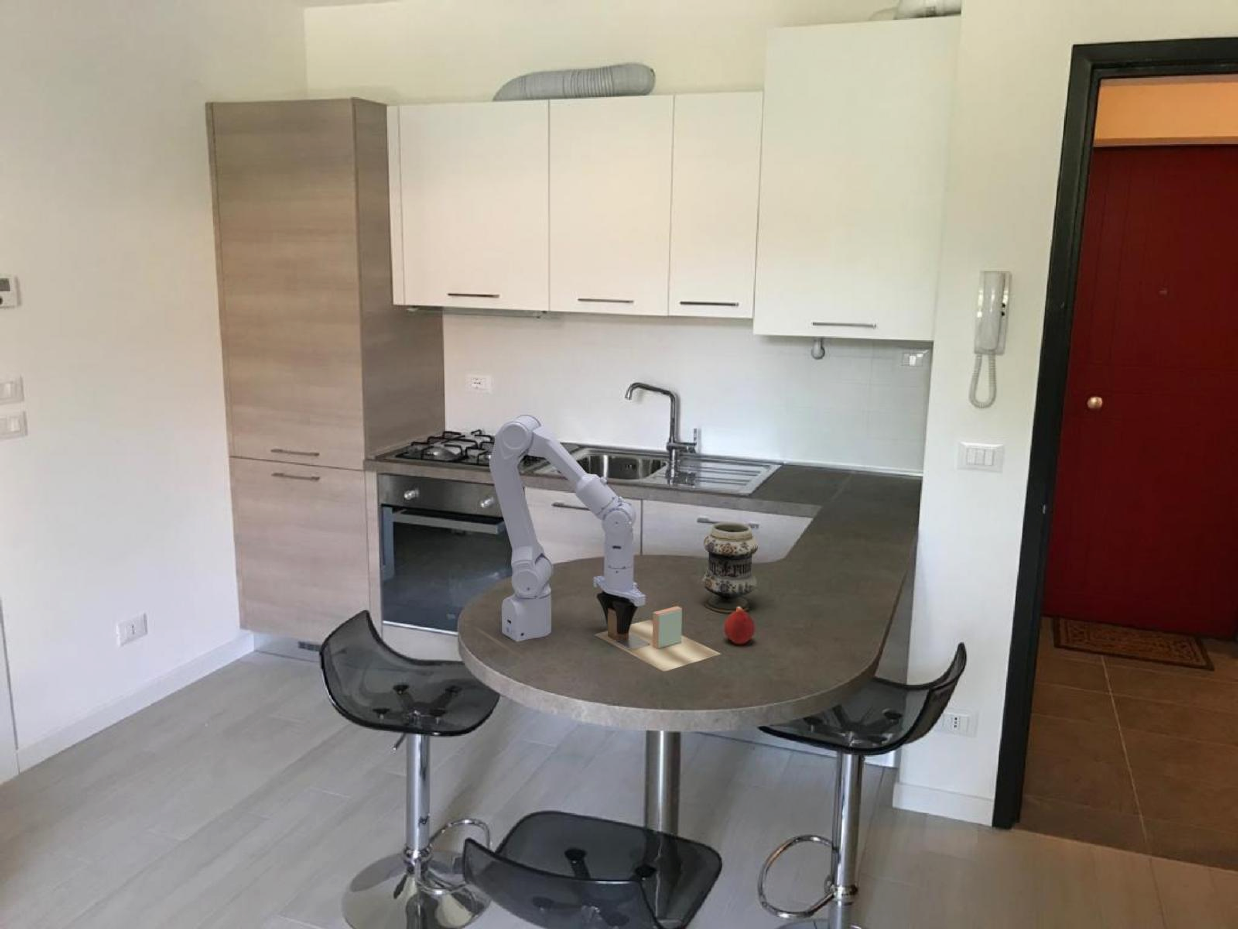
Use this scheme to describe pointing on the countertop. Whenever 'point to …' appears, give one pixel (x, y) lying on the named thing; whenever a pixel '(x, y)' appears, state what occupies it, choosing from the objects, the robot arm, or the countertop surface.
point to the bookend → (625, 639)
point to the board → (664, 649)
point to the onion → (739, 626)
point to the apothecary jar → (729, 566)
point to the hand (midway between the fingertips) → (618, 630)
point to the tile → (667, 627)
